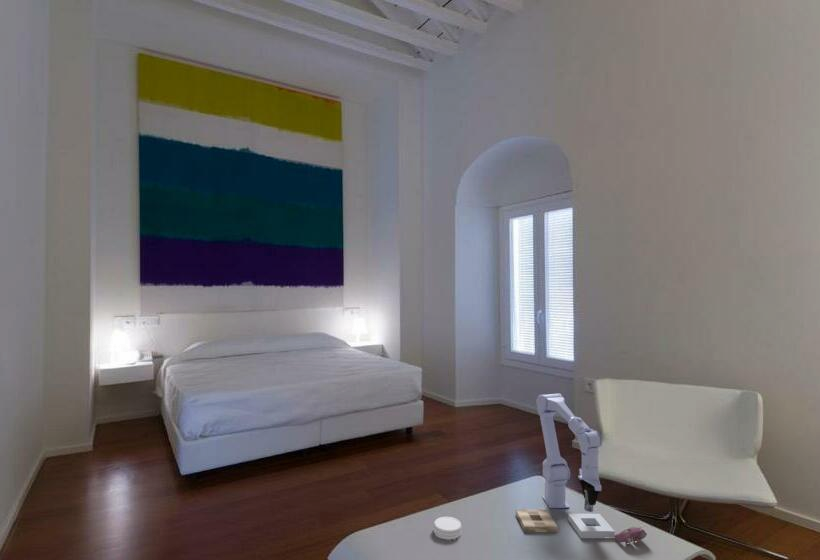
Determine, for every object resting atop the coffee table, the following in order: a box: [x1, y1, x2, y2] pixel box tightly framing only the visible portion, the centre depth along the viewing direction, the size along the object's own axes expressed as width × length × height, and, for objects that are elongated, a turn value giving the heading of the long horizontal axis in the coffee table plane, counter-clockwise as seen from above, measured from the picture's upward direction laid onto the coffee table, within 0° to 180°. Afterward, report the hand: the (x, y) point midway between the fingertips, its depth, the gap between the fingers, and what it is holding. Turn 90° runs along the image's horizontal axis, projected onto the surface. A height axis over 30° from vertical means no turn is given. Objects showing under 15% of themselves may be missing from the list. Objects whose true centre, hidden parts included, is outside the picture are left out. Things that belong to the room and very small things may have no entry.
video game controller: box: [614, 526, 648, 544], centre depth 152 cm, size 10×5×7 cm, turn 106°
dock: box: [567, 513, 616, 539], centre depth 161 cm, size 12×12×2 cm
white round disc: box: [433, 516, 462, 541], centre depth 158 cm, size 10×10×4 cm
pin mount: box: [515, 509, 559, 533], centre depth 164 cm, size 12×12×2 cm
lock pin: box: [584, 489, 594, 513], centre depth 161 cm, size 4×4×7 cm
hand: (589, 501), depth 161 cm, fingers closed on lock pin, 3 cm apart
